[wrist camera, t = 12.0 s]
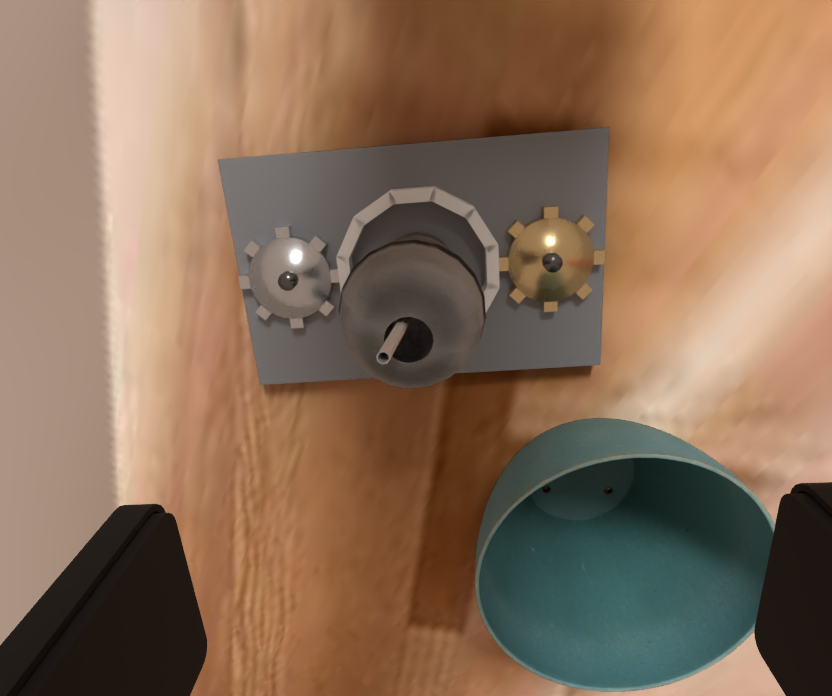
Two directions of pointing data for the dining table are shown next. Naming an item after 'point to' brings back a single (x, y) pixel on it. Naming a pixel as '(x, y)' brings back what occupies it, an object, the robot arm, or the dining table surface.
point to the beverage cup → (412, 312)
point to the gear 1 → (290, 276)
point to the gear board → (429, 213)
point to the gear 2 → (550, 258)
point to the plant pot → (619, 557)
